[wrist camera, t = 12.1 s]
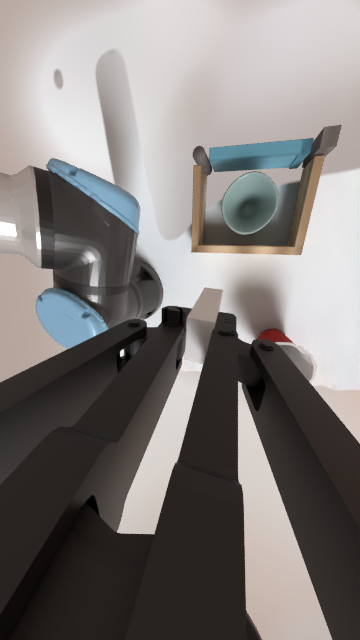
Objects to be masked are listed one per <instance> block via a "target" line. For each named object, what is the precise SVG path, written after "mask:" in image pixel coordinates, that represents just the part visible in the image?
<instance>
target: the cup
mask: <svg viewBox="0 0 360 640" xmlns="http://www.w3.org/2000/svg"><path fill="white" fill-rule="evenodd" d="M278 203H279V195H278V191H277V187H276V186H275V184H274V182H273V181H272V180H271V178H270V177H268V176H267V175H266V174H264V173H261V172H255V171H254V172H248V173H246V174H244V175H242V176H240V177H239V178H238V179H236V180H235V181H234V182H233V183H232V184H231V185H230V186H229V188H228V189H227V191H226V192H225V194H224V197H223V200H222V205H221V210H222V216H223V218H224V221H225V222H226V224H227V225H228V227H229V228H230V229H231V230H233V231H234V232H236V233H238V234H242V235H248V234H252V233H255V232H257V231H259V230H260V229H262V228H263V227H264V226H265V225H267V224H268V223H269V222H270V220H271V219H272V218H273V216H274V214H275V213H276V210H277V208H278Z"/></svg>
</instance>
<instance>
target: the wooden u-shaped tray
mask: <svg viewBox="0 0 360 640" xmlns="http://www.w3.org/2000/svg"><path fill="white" fill-rule="evenodd" d="M340 130H341V125H337V126H329V127H324V129H323V130H322V131H321V132H320V134H319V135H318V137H317V138H316V139H315V140H314V142H313V143H312V147H311V152H310V153H309V154H308V155H307V157H306V158H305V159H304V160H303V166H302V168H304V169H303V172H302V177H301V181H300V186H299V191H298V196H297V200H296V205H295V210H294V215H293V220H292V224H291V229H290V234H289V239H288V244H287V245H229V244H204V227H205V205H206V185H207V176H208V175H209V174H211V172H212V166H211V164H210V162H209V159H208V157H207V155H206V153H205V150H204V148H203V147H201V146H198V147H196V148H195V149H194V151H193V158H194V160H195V161H196V163H197V165H194V171H193V173H194V174H193V213H192V252H204V253H243V254H282V255H301V253H302V249H303V245H304V241H305V237H306V232H307V228H308V224H309V220H310V216H311V211H312V207H313V203H314V199H315V195H316V191H317V186H318V182H319V178H320V174H321V170H322V166H323V161H324V157H325V156H326V155H327V154H328V153H329V152H331V151H332V150H333V149H334V148H335V147H336V145H337V141H338V137H339V134H340Z"/></svg>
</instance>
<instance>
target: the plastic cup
mask: <svg viewBox="0 0 360 640" xmlns="http://www.w3.org/2000/svg"><path fill="white" fill-rule="evenodd" d="M258 339H267V340H270V341H273V342H274V343H276V344H278V345H279V346H280V347H281V348H282V349H283V351H284V352H285V353H286V354H287V356H288V357H289V358H290V359H291V360H292V362H293V363H294V364H295V365H296V367H297V368H298V369H299V370H300V371H301V373H302V374H303V375H304V376H305V378H306V379H307V380H308V381H309V382H310V383H311V382H312V380H313V379H314V377H315V372H316V364H315V361H314V359H313V356H312V355H311V354H310V353H309V352H308V351H306V350H305V349H304V348H303V347H301V346H298V345H295V344H294V343H293V342H292V341H291V340H290V339H289V338H287V337H286V336H285V335H284V334H283V333H282V332H281V331H279V330H276V329H269V330H265V331H264V332H262V333H261V334H260V336H259V338H258Z"/></svg>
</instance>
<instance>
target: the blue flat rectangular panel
mask: <svg viewBox="0 0 360 640" xmlns="http://www.w3.org/2000/svg"><path fill="white" fill-rule="evenodd" d="M312 143H313V138H310V139H299V140H289V141H278V142H268V143H257V144H247V145H236V146H226V147H215V148H210V150H209V151H210V152H209V161H210V162H211V164H212V166H213V169H214V171H215V172H222V171H237V170H254V169H270V168H286V167H289V169H293V168H298V166H299V165H300V164H301V163H302V162H303V160H304V159H305V158H306V157H307V155H308V154H309V153H310V152H311V147H312Z"/></svg>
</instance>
